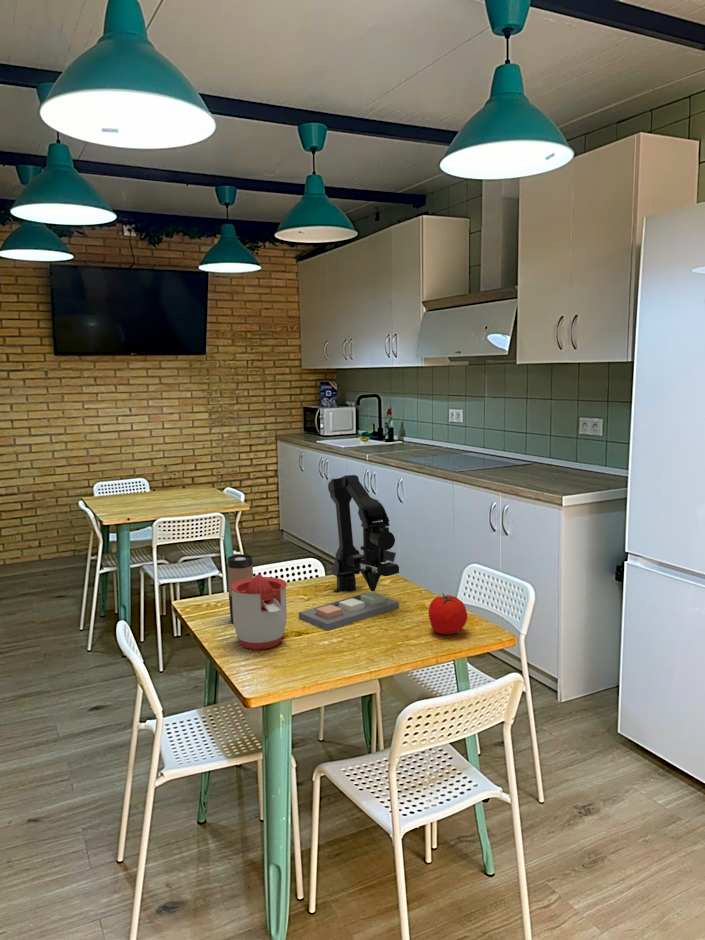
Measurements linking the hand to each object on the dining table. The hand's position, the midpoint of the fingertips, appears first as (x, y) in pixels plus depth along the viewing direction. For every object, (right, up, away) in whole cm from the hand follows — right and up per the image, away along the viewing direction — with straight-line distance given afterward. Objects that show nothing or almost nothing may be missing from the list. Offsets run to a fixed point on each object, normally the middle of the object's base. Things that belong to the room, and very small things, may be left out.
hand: (372, 591), depth 225 cm
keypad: (-7, -7, -4) cm, 11 cm away
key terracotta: (-14, -6, -11) cm, 18 cm away
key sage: (0, -4, 0) cm, 4 cm away
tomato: (+21, -9, -19) cm, 30 cm away
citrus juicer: (-32, -11, -25) cm, 42 cm away
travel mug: (-40, -8, -6) cm, 42 cm away
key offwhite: (-7, -5, -5) cm, 10 cm away
